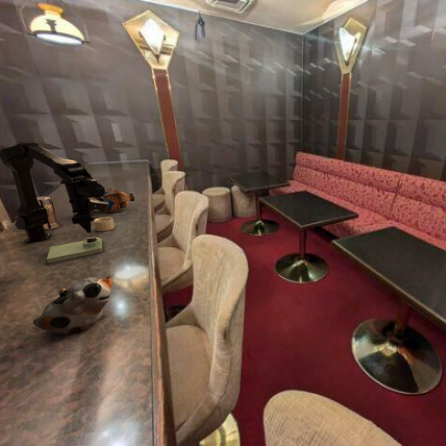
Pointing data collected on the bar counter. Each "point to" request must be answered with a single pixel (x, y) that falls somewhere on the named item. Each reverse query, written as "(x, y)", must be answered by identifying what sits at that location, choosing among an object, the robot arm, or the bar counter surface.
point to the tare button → (91, 239)
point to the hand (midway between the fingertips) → (89, 232)
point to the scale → (74, 250)
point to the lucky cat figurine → (76, 306)
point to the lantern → (115, 200)
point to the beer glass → (49, 212)
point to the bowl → (104, 223)
